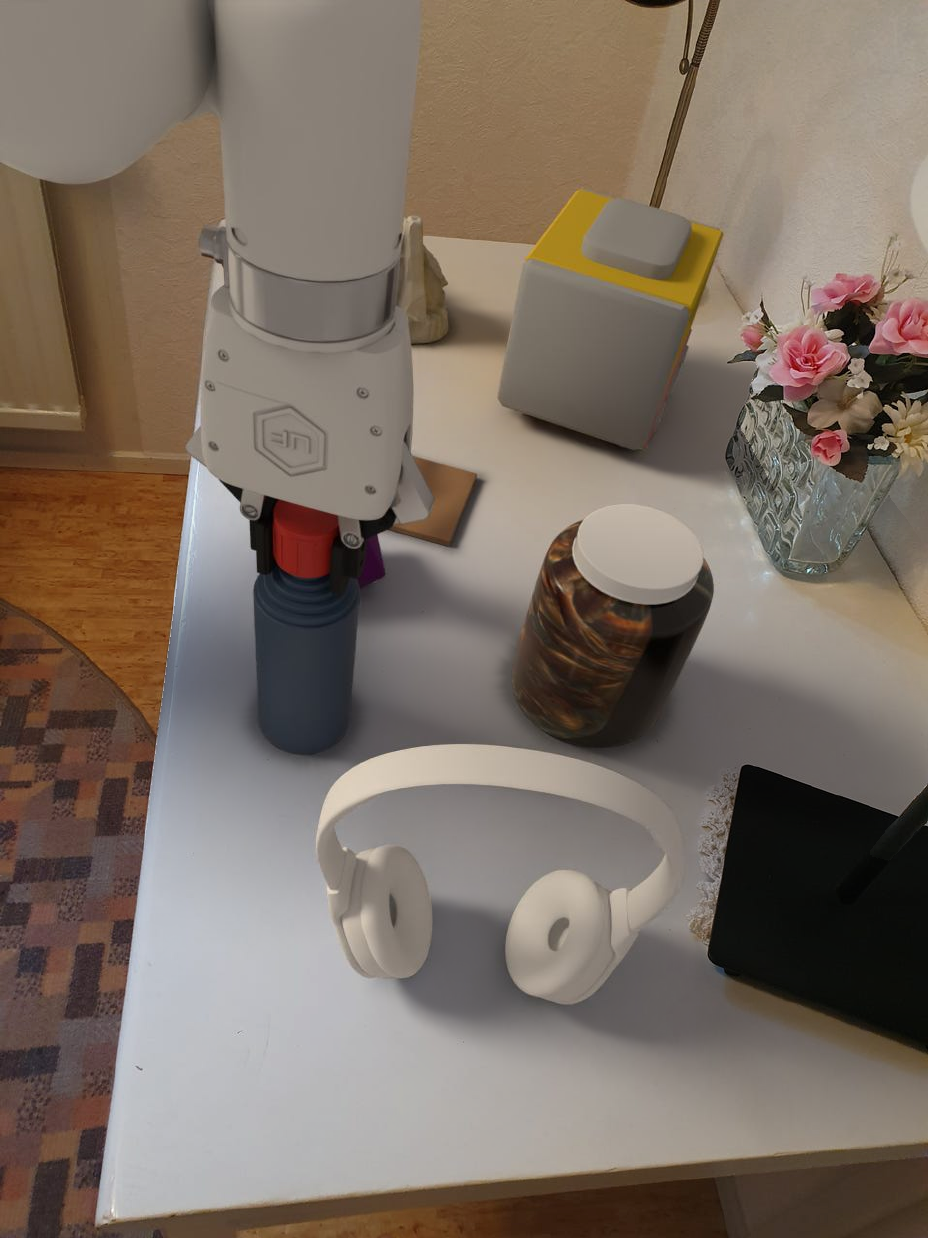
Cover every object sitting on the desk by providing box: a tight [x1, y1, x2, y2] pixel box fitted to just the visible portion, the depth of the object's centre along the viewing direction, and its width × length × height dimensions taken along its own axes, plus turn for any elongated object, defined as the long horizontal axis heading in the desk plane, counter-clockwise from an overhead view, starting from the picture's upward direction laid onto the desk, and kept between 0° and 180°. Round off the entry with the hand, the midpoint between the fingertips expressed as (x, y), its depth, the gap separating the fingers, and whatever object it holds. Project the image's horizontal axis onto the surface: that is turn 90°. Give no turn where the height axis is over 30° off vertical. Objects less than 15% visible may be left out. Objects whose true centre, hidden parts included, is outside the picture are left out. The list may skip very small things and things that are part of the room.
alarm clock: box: [496, 187, 724, 451], centre depth 91 cm, size 20×16×18 cm
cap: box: [273, 499, 339, 578], centre depth 53 cm, size 4×4×3 cm
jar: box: [511, 503, 715, 748], centre depth 66 cm, size 12×12×15 cm
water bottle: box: [252, 564, 361, 755], centre depth 59 cm, size 6×6×18 cm
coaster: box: [388, 455, 478, 547], centre depth 83 cm, size 10×10×1 cm
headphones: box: [315, 743, 685, 1005], centre depth 48 cm, size 7×18×20 cm, turn 85°
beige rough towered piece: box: [396, 215, 450, 345], centre depth 100 cm, size 16×16×15 cm
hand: (308, 567), depth 55 cm, fingers closed on cap, 3 cm apart
